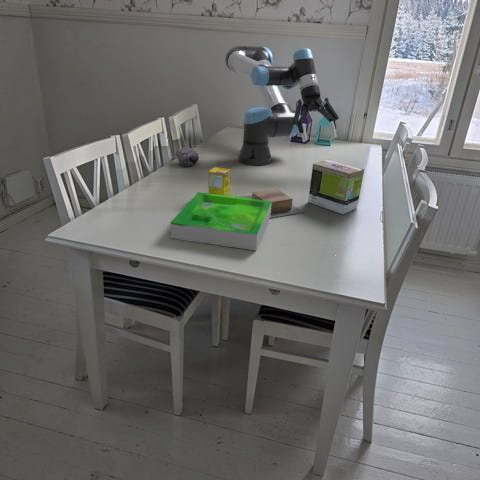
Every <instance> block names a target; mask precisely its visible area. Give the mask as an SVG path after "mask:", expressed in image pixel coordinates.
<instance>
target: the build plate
mask: <svg viewBox="0 0 480 480" xmlns="http://www.w3.org/2000/svg"><path fill="white" fill-rule="evenodd" d="M240 197H241V198H249V199H257V200H265V201H272V204H271V216H270V218H269V220H270V219H277V218H282V217H287V216H294V215H300V214H304V211H303V210H302V209H300V208H299V207H297V206H296V205H294V204H293V198H292V197H291V196H289V195H287V194H285V193H284V192H283V191H281V190H279V189H278V188H275V189H274V188H273V189H267V190H261V191H254V192H252V193H251V194H249V195H242V196H240Z"/></svg>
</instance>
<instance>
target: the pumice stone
mask: <svg viewBox="0 0 480 480" xmlns="http://www.w3.org/2000/svg"><path fill="white" fill-rule="evenodd" d="M175 156H176V157H177V160H178V163H179V164H180V165H182V166H184V167H188V168H189V167H190V168H191V167H193V165H195V164H197V163H198V162H199V159H200V156H199V152H197V150H195V149H193V148H190V147H188V146H185V147H180V148H178V149H177V150H176V152H175Z"/></svg>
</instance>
